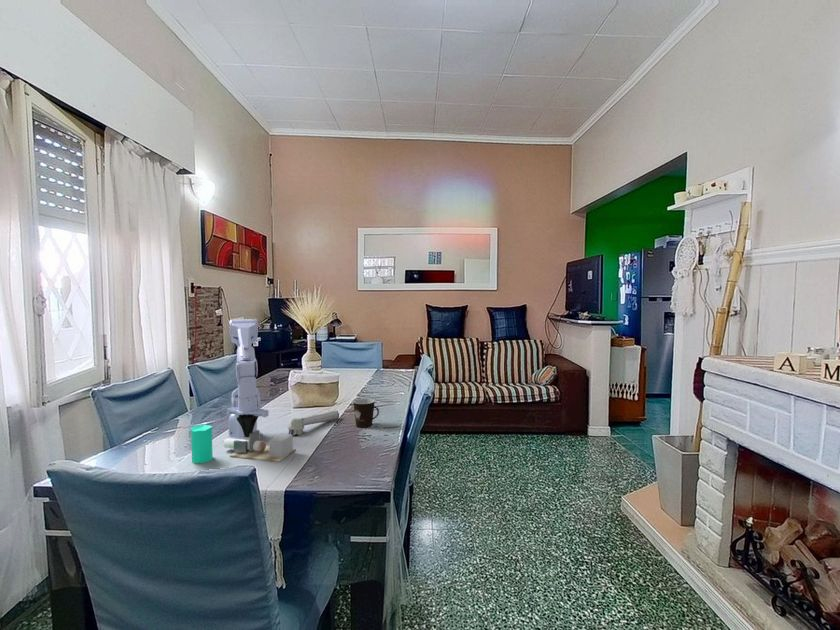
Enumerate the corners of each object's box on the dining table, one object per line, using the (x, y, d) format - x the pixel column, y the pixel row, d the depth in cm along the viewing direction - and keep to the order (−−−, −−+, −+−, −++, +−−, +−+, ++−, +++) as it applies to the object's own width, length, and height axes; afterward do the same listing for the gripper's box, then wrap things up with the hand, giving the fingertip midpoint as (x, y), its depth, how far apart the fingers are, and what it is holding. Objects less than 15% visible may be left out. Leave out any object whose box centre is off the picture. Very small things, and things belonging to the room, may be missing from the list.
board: (229, 456, 133) (229, 455, 133) (249, 445, 143) (249, 444, 143) (278, 462, 129) (278, 460, 129) (295, 450, 138) (295, 448, 138)
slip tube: (223, 449, 137) (222, 431, 137) (231, 445, 141) (230, 427, 141) (259, 453, 134) (259, 434, 133) (266, 449, 138) (266, 430, 137)
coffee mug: (350, 424, 166) (350, 399, 166) (370, 421, 170) (370, 397, 170) (359, 432, 156) (359, 406, 156) (380, 429, 160) (380, 404, 160)
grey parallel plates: (233, 452, 135) (233, 441, 135) (245, 446, 141) (245, 435, 140) (245, 454, 134) (245, 442, 134) (256, 447, 140) (256, 436, 139)
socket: (269, 456, 131) (269, 440, 131) (281, 449, 138) (280, 433, 137) (281, 458, 130) (281, 441, 130) (292, 450, 137) (292, 434, 136)
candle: (189, 459, 131) (188, 422, 130) (209, 454, 135) (208, 418, 134) (194, 465, 126) (193, 427, 126) (215, 459, 131) (214, 422, 130)
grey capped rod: (340, 410, 173) (295, 417, 151) (339, 426, 172) (294, 436, 151) (331, 409, 175) (285, 415, 154) (330, 424, 175) (284, 433, 153)
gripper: (220, 398, 134) (221, 438, 134) (258, 400, 130) (259, 442, 131) (234, 393, 141) (235, 431, 141) (271, 395, 137) (272, 435, 138)
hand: (248, 436), depth 137 cm, fingers closed
